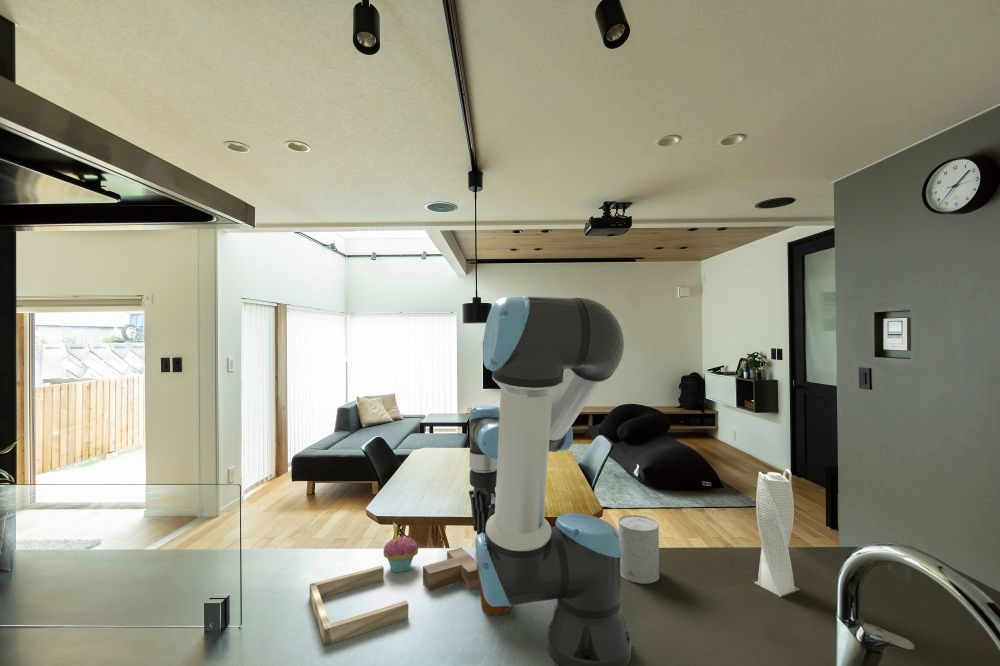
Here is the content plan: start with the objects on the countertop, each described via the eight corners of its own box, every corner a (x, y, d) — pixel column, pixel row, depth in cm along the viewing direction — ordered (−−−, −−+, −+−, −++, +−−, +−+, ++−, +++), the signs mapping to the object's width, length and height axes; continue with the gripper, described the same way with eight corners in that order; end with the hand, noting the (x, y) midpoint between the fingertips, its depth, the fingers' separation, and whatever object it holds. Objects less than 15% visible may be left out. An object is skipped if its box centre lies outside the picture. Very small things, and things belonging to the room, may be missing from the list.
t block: (484, 584, 105) (484, 567, 105) (436, 600, 99) (436, 581, 99) (461, 563, 115) (461, 547, 115) (416, 575, 109) (416, 559, 109)
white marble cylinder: (610, 568, 112) (610, 518, 112) (640, 560, 116) (639, 512, 117) (637, 587, 104) (636, 533, 104) (668, 578, 108) (667, 526, 108)
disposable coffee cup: (519, 595, 100) (519, 541, 101) (517, 621, 91) (517, 561, 91) (477, 593, 101) (477, 539, 101) (470, 618, 92) (470, 559, 92)
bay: (408, 618, 92) (408, 603, 92) (324, 645, 84) (324, 629, 84) (382, 578, 108) (382, 565, 108) (309, 597, 99) (309, 584, 99)
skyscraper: (806, 594, 101) (804, 469, 102) (783, 603, 98) (781, 473, 98) (770, 576, 109) (768, 460, 109) (748, 584, 105) (746, 464, 106)
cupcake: (392, 579, 107) (392, 529, 107) (377, 566, 113) (377, 518, 114) (424, 568, 112) (424, 520, 113) (407, 556, 119) (408, 510, 119)
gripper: (511, 472, 109) (511, 571, 108) (485, 460, 120) (485, 550, 119) (484, 477, 105) (484, 579, 104) (459, 464, 116) (459, 556, 115)
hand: (484, 563), depth 112 cm, fingers closed
